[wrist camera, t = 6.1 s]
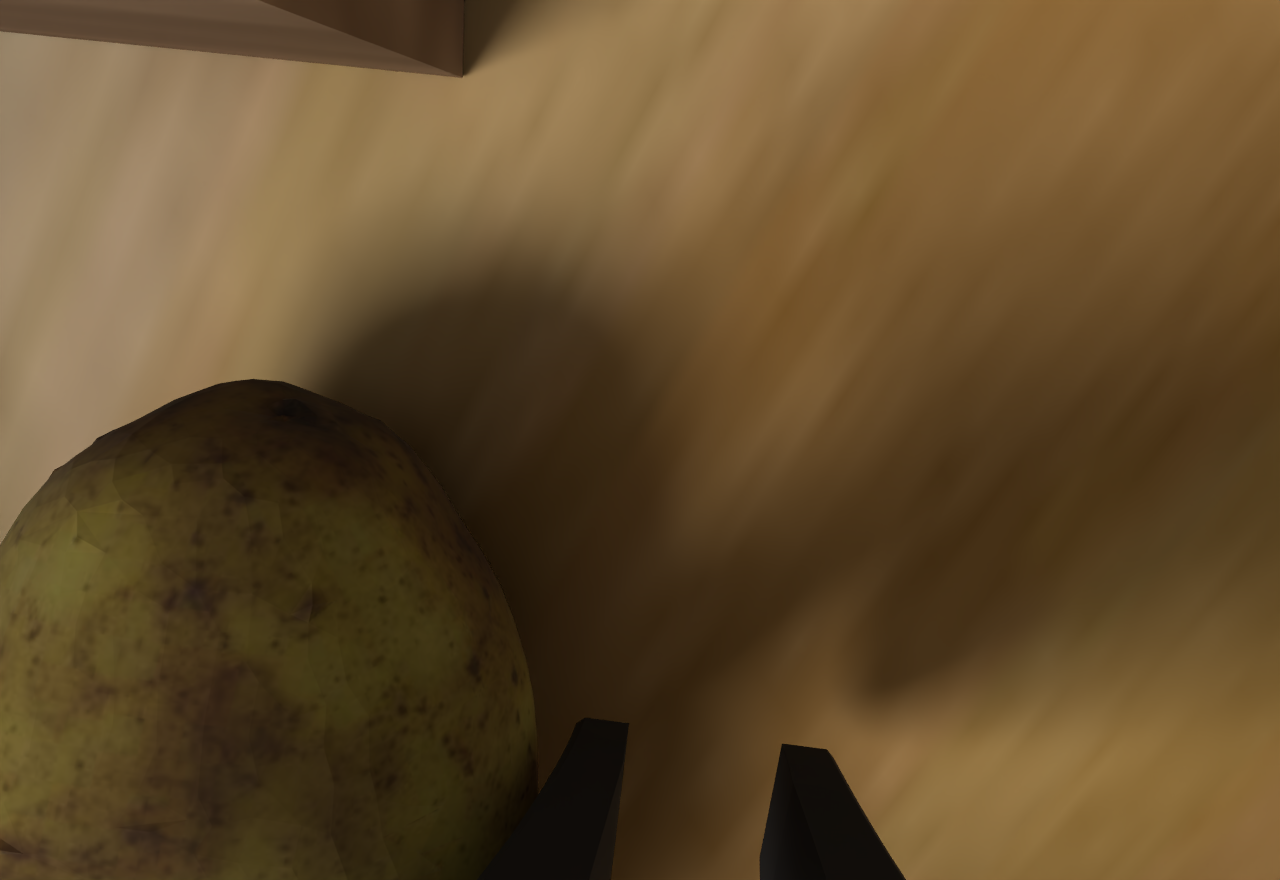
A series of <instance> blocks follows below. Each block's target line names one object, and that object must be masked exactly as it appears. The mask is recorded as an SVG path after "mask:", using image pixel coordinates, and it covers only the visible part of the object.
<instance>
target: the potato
mask: <svg viewBox="0 0 1280 880" xmlns="http://www.w3.org/2000/svg"><path fill="white" fill-rule="evenodd" d="M537 796H538V741H537V730H536V718H535V706H534V696H533V691H532V686H531V681H530V676H529V671H528V667H527V662H526V657H525V654H524V651H523V647H522V644H521V641H520V638H519V634H518V631H517V628H516V625H515V622H514V619H513V616H512V614H511V611H510V609H509V606H508V604H507V601H506V599H505V596H504V593H503V591H502V589H501V587H500V585H499V583H498V581H497V579H496V577H495V575H494V574H493V572H492V570H491V568H490V566H489V564H488V562H487V560H486V558H485V557H484V555H483V553H482V551H481V549H480V548H479V546H478V545H477V543H476V542H475V540H474V539H473V537H472V536H471V534H470V533H469V531H468V530H467V528H466V526H465V525H464V523H463V522H462V520H461V519H460V517H459V515H458V514H457V512H456V510H455V509H454V507H453V506H452V504H451V502H450V501H449V499H448V497H447V496H446V494H445V492H444V491H443V489H442V487H441V486H440V484H439V483H438V481H437V480H436V479H435V477H434V476H433V475H432V474H431V472H430V471H429V470H428V468H427V467H426V466H425V465H424V463H423V462H422V461H421V459H420V458H419V457H418V456H417V454H416V453H415V452H414V450H413V449H412V448H411V447H410V445H408V444H407V443H406V442H405V441H403V440H402V439H401V438H400V437H398V436H397V435H396V434H395V433H394V432H393V431H391V430H390V429H389V428H388V427H387V426H386V425H385V424H384V423H382V422H381V421H380V420H377V419H375V418H372V417H369V416H367V415H364V414H362V413H360V412H358V411H356V410H354V409H352V408H350V407H349V406H346V405H344V404H341V403H339V402H336V401H334V400H331V399H329V398H326V397H324V396H321V395H318V394H316V393H313V392H311V391H308V390H306V389H303V388H300V387H297V386H294V385H292V384H289V383H286V382H282V381H269V380H257V379H250V380H240V381H232V382H226V383H220V384H217V385H214V386H211V387H208V388H206V389H203V390H200V391H197V392H194V393H192V394H189V395H186V396H184V397H181V398H178V399H176V400H173V401H171V402H170V403H168V404H166V405H164V406H162V407H160V408H158V409H156V410H154V411H152V412H151V413H149V414H147V415H145V416H143V417H141V418H139V419H137V420H135V421H133V422H131V423H129V424H127V425H124V426H122V427H120V428H118V429H115V430H112V431H111V432H109V433H107V434H105V435H103V436H101V437H99V438H97V439H96V440H95V441H94V443H93V444H92V445H91V446H90V447H88V448H87V449H85V450H84V451H82V452H81V453H79V454H78V455H76V456H75V457H74V458H72V459H71V460H70V461H69V462H67V463H66V464H65V465H63V466H61V467H59V468H57V469H55V470H54V471H53V473H52V474H51V476H50V477H49V479H48V480H47V481H46V483H45V484H44V485H43V486H42V487H41V488H40V490H39V491H38V492H37V493H36V494H35V495H34V496H33V498H32V499H31V500H30V501H29V502H28V503H27V504H26V506H25V507H24V508H23V509H22V511H21V513H20V514H19V516H18V517H17V519H16V521H15V522H14V524H13V525H12V527H11V529H10V530H9V532H8V533H7V535H6V537H5V538H4V540H3V542H2V543H1V545H0V880H477V879H478V878H479V876H480V875H481V874H482V873H483V871H484V870H485V869H486V867H487V866H488V865H489V863H490V862H491V861H492V859H493V858H494V857H495V856H496V854H497V853H498V852H499V850H500V849H501V848H502V846H503V845H504V844H505V842H506V841H507V840H508V839H509V837H510V836H511V834H512V833H513V832H514V830H515V829H516V827H517V826H518V824H519V823H520V821H521V820H522V818H523V817H524V815H525V814H526V812H527V811H528V809H529V808H530V806H531V805H532V803H533V802H534V800H535V799H536V797H537Z"/></svg>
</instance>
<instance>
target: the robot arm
mask: <svg viewBox="0 0 1280 880" xmlns="http://www.w3.org/2000/svg"><path fill="white" fill-rule="evenodd" d="M628 727H629V723H622V722H614V721H607V720H599V719H592V718H584V719H582V720H581V721H579V722H578V723H576V726H575V728H574V731H573V733H572V736H571V738H570V740H569V742H568V744H567V746H566V748H565V750H564V752H563V754H562V756H561V758H560V759H559V761H558V763H557V765H556V767H555V768H554V770H553V772H552V773H551V775H550V777H549V778H548V780H547V782H546V783H545V785H544V787H543V788H542V790H541V791H540V793H539V794H538V796H537V797H536V799H535V800H534V802H533V803H532V805H531V806H530V808H529V809H528V811H527V812H526V814H525V815H524V817H523V818H522V820H521V821H520V823H519V824H518V826H517V827H516V829H515V830H514V832H513V833H512V834H511V836H510V837H509V839H508V840H507V841H506V842H505V844H504V845H503V846H502V848H501V849H500V850H499V852H498V853H497V854H496V856H495V857H494V858H493V859H492V861H491V862H490V863H489V865H488V866H487V867H486V869H485V870H484V871H483V873H482V874H481V875H480V876H479V878H478V879H477V880H610V879H611V871H612V863H613V855H614V847H615V840H616V831H617V822H618V814H619V805H620V796H621V788H622V779H623V770H624V762H625V753H626V744H627V736H628ZM760 880H906V879H905V877H904V876H903V874H902V873H901V871H900V870H899V868H898V867H897V865H896V864H895V862H894V860H893V859H892V857H891V856H890V854H889V853H888V851H887V850H886V848H885V846H884V845H883V843H882V842H881V840H880V838H879V837H878V835H877V833H876V832H875V830H874V828H873V827H872V825H871V823H870V822H869V820H868V818H867V817H866V815H865V813H864V812H863V810H862V808H861V806H860V805H859V803H858V801H857V799H856V798H855V796H854V794H853V792H852V791H851V789H850V787H849V785H848V784H847V782H846V780H845V778H844V776H843V775H842V773H841V771H840V769H839V767H838V765H837V764H836V762H835V760H834V758H833V757H832V755H831V754H830V753H829V751H828V750H827V749H819V748H812V747H804V746H797V745H789V744H782V747H781V752H780V757H779V762H778V767H777V772H776V777H775V782H774V787H773V793H772V798H771V803H770V808H769V813H768V818H767V823H766V828H765V833H764V838H763V843H762V848H761V853H760Z"/></svg>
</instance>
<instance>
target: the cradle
mask: <svg viewBox="0 0 1280 880" xmlns="http://www.w3.org/2000/svg"><path fill="white" fill-rule="evenodd" d="M0 31H3V32H13V33H23V34H33V35H43V36H53V37H63V38H73V39H83V40H93V41H103V42H113V43H123V44H133V45H143V46H153V47H163V48H172V49H182V50H192V51H202V52H212V53H222V54H232V55H242V56H252V57H262V58H272V59H282V60H292V61H302V62H312V63H322V64H332V65H341V66H351V67H361V68H371V69H381V70H391V71H401V72H411V73H421V74H431V75H441V76H451V77H461V78H463V38H464V0H0Z"/></svg>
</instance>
